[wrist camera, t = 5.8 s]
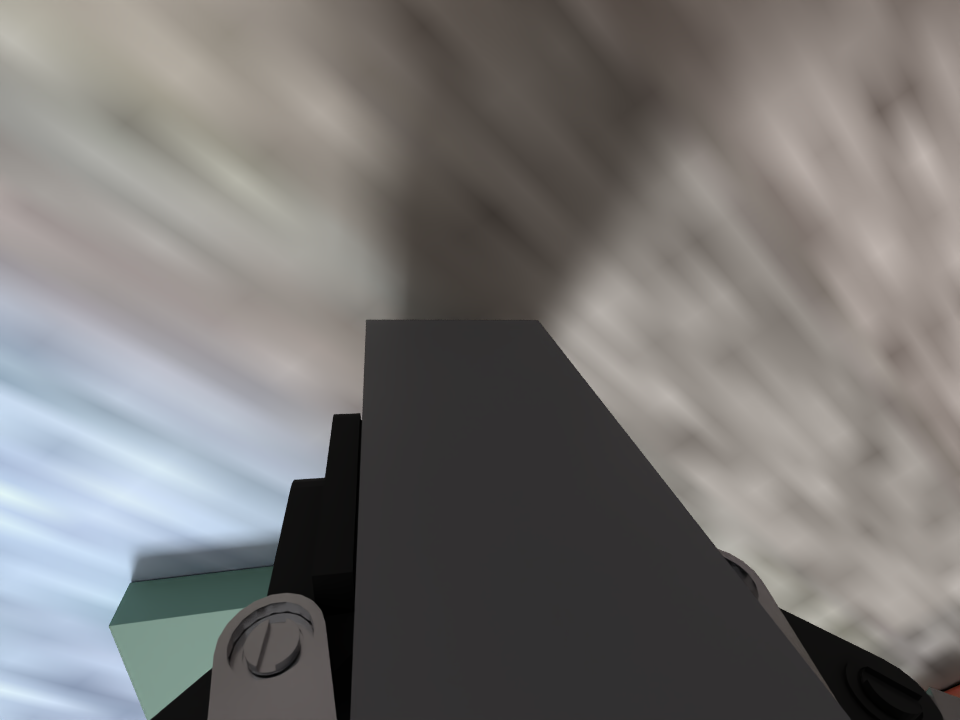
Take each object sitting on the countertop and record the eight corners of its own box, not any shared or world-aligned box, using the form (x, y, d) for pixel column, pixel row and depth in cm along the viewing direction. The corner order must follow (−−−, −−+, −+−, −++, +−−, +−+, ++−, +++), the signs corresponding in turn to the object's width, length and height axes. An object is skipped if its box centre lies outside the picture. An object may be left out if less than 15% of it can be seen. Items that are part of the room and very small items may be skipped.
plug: (366, 319, 11) (342, 914, 3) (538, 319, 11) (896, 776, 4) (371, 533, 13) (368, 1118, 6) (508, 521, 14) (670, 1016, 6)
